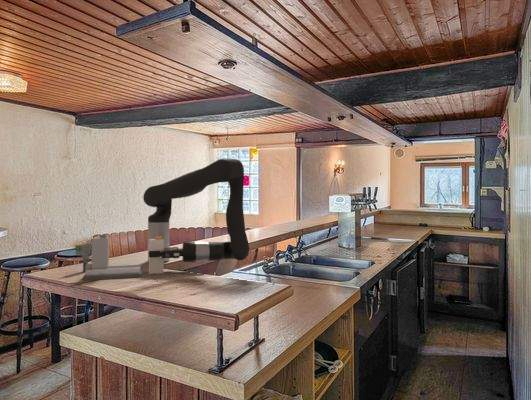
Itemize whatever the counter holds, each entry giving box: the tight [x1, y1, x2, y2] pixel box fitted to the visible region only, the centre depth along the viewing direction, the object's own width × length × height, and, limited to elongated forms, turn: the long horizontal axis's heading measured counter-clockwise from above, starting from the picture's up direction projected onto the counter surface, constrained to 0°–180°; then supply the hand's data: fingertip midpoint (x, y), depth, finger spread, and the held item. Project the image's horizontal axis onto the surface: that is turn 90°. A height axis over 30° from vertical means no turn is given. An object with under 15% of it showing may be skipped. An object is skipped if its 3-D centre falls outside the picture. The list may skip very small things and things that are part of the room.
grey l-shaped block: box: [82, 234, 143, 281], centre depth 132 cm, size 12×18×14 cm, turn 108°
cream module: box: [148, 237, 165, 275], centre depth 139 cm, size 4×5×13 cm
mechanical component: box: [74, 242, 92, 272], centre depth 142 cm, size 3×10×10 cm, turn 174°
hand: (149, 253), depth 139 cm, fingers open, 5 cm apart
